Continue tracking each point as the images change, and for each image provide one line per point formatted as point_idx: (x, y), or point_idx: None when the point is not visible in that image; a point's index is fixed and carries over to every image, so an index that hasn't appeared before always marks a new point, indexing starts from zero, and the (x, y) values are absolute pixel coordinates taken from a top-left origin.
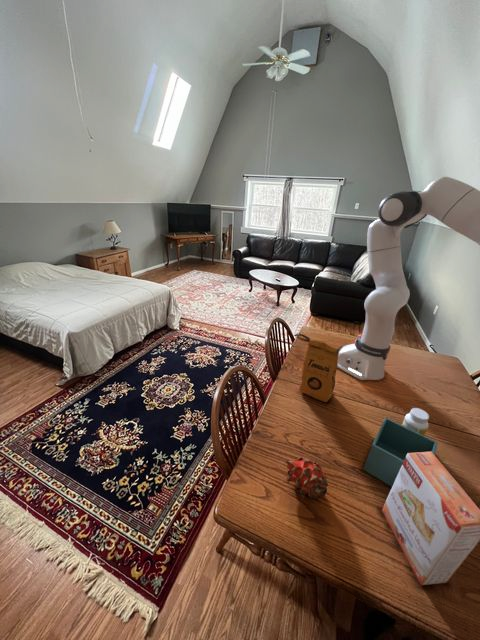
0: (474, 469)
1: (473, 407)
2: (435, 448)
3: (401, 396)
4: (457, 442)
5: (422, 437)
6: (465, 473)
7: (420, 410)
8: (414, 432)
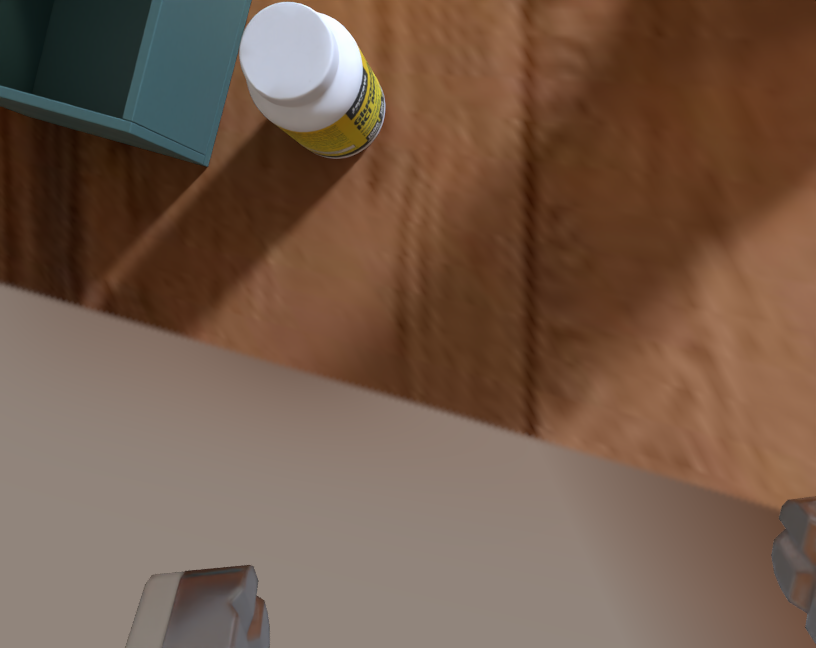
0: (289, 367)
1: None
2: (81, 115)
3: (713, 97)
4: (432, 338)
5: (138, 66)
6: (248, 324)
7: (317, 56)
8: (146, 25)
